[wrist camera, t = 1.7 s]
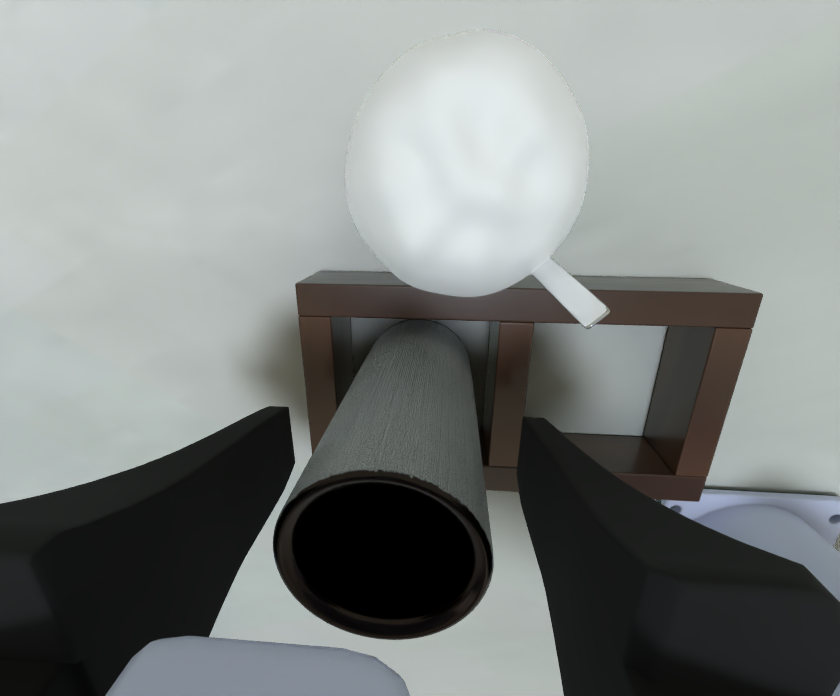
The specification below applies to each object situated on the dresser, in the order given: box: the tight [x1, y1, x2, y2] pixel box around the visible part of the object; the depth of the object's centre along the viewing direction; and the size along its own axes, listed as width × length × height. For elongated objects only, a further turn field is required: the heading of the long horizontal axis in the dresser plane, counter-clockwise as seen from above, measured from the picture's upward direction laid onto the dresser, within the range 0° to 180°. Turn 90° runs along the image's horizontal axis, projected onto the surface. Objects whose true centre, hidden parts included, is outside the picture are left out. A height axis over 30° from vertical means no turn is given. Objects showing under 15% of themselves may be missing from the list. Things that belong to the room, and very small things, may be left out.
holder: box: [295, 271, 763, 502], centre depth 16 cm, size 8×16×3 cm, turn 90°
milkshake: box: [345, 30, 610, 329], centre depth 10 cm, size 4×5×10 cm
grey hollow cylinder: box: [273, 320, 493, 640], centre depth 13 cm, size 4×4×10 cm
